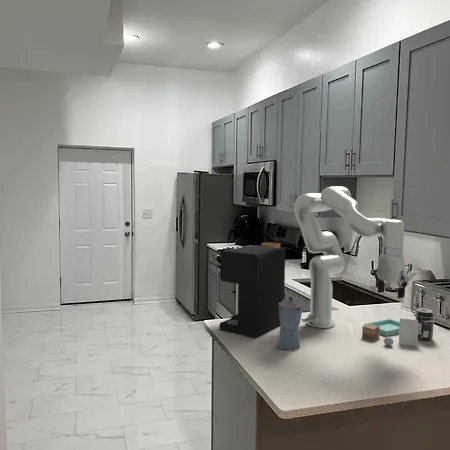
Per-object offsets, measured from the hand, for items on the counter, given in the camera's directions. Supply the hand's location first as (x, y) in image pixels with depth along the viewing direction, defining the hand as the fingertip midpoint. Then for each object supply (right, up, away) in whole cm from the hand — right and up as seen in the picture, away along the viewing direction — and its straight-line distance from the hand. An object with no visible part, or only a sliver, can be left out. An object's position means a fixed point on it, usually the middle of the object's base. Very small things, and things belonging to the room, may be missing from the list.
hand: (390, 294), depth 180 cm
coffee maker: (-52, -18, +25) cm, 60 cm away
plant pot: (-28, -3, +190) cm, 192 cm away
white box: (+9, -20, +5) cm, 23 cm away
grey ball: (0, -20, +2) cm, 20 cm away
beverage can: (+18, -20, +11) cm, 29 cm away
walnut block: (-4, -20, +11) cm, 23 cm away
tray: (+7, -19, +22) cm, 29 cm away
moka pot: (-40, -20, -1) cm, 45 cm away
